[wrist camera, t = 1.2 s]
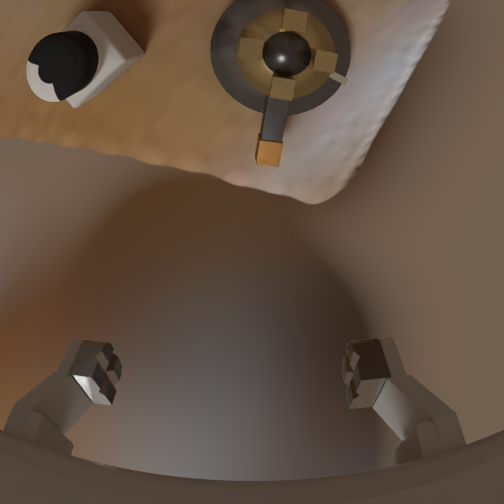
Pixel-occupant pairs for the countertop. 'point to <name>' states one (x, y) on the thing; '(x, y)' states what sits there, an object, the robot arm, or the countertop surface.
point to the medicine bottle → (81, 58)
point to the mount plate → (225, 59)
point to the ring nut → (283, 68)
